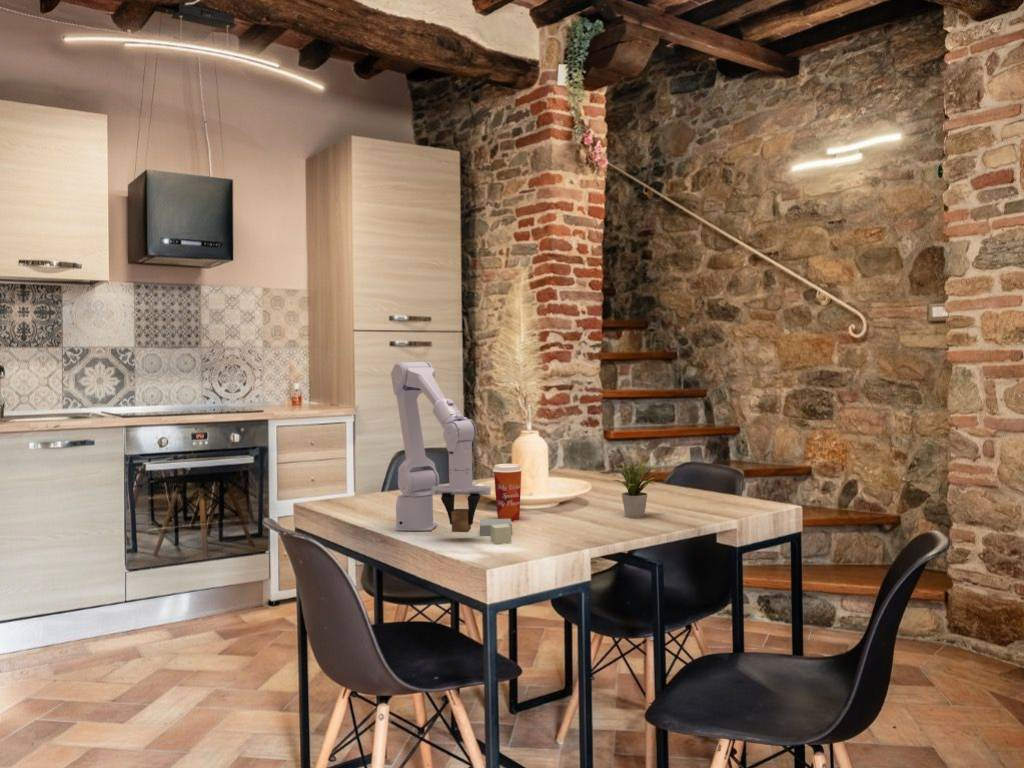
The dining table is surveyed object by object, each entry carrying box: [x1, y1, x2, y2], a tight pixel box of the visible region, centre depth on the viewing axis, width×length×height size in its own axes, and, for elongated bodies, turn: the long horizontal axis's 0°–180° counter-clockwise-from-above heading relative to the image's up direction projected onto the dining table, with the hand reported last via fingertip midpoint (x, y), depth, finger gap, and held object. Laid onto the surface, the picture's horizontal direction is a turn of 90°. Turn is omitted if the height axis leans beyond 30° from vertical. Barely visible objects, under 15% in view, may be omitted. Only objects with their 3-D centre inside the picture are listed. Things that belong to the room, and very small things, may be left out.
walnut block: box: [451, 508, 472, 533], centre depth 203 cm, size 4×4×5 cm
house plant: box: [610, 457, 661, 519], centre depth 227 cm, size 14×14×16 cm
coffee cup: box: [492, 463, 524, 522], centre depth 227 cm, size 8×8×15 cm
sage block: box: [490, 524, 512, 545], centre depth 200 cm, size 4×4×4 cm
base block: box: [479, 518, 513, 537], centre depth 211 cm, size 8×8×3 cm
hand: (461, 523), depth 203 cm, fingers closed on walnut block, 4 cm apart
